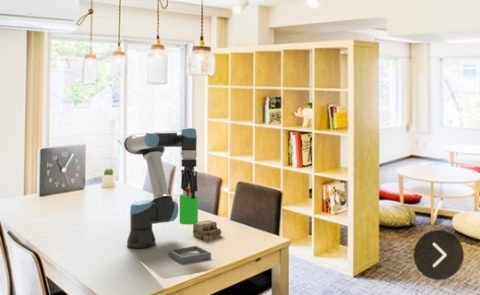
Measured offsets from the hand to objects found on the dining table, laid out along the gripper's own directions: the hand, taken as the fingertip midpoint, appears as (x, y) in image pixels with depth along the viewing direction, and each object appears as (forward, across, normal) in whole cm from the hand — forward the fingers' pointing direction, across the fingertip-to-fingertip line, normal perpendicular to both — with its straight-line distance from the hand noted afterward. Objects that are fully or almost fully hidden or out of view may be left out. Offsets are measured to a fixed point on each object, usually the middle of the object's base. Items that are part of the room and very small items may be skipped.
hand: (189, 204), depth 206 cm
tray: (+27, 0, 0) cm, 27 cm away
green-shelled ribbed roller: (+10, 0, 0) cm, 10 cm away
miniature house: (+27, -22, +21) cm, 41 cm away
